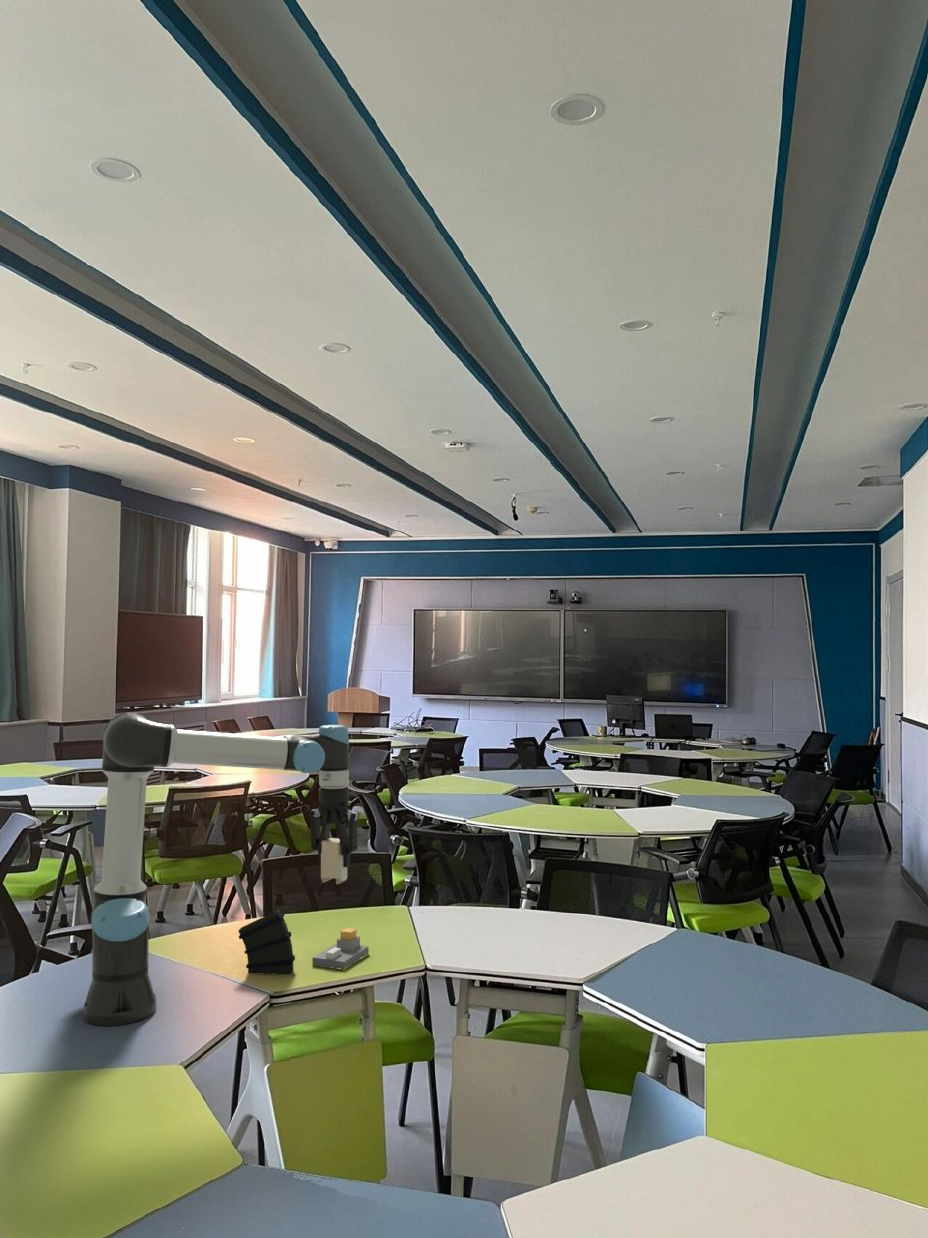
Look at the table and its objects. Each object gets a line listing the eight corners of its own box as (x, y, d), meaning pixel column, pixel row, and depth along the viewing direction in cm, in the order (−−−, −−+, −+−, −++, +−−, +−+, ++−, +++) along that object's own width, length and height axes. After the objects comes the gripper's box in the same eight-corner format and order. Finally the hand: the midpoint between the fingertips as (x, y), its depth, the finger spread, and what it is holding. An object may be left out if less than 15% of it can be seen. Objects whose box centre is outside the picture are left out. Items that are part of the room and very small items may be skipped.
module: (321, 882, 240) (321, 841, 240) (330, 878, 244) (330, 838, 245) (337, 884, 238) (337, 842, 239) (346, 880, 243) (346, 839, 243)
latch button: (340, 943, 247) (340, 931, 247) (346, 939, 250) (346, 928, 250) (350, 944, 246) (350, 932, 246) (356, 941, 249) (356, 929, 249)
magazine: (304, 968, 233) (278, 912, 234) (255, 991, 233) (229, 935, 234) (307, 963, 237) (281, 908, 237) (259, 986, 237) (233, 930, 238)
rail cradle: (312, 965, 240) (312, 947, 240) (338, 950, 252) (338, 933, 252) (343, 970, 237) (343, 951, 237) (368, 954, 249) (368, 936, 249)
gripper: (296, 786, 242) (296, 879, 241) (357, 790, 235) (357, 885, 235) (311, 782, 249) (311, 872, 248) (371, 786, 242) (372, 878, 242)
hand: (334, 878), depth 241 cm, fingers closed on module, 5 cm apart
